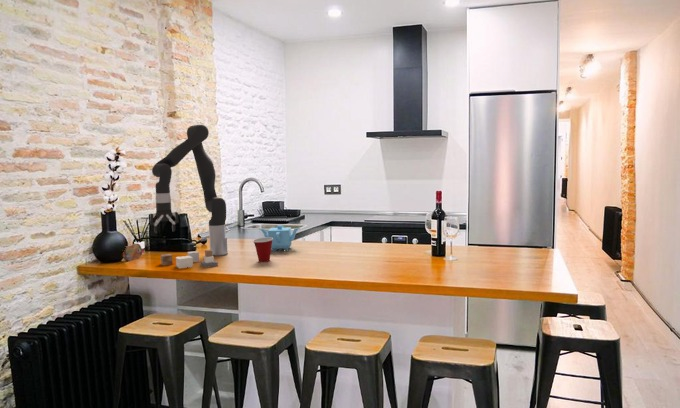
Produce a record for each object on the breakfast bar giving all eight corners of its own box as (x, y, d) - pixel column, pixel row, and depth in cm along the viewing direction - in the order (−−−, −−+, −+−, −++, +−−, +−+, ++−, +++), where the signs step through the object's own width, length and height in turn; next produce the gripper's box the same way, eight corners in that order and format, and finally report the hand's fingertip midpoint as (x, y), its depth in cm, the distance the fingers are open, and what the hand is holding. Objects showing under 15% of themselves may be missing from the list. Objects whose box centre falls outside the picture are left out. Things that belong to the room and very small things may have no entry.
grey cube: (197, 260, 281) (196, 251, 280) (199, 261, 276) (198, 252, 276) (187, 261, 278) (187, 252, 278) (189, 262, 274) (189, 253, 274)
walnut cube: (170, 263, 274) (170, 253, 274) (172, 264, 270) (172, 255, 269) (161, 264, 272) (160, 254, 271) (162, 265, 267) (162, 256, 267)
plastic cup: (250, 260, 274) (249, 238, 273) (267, 258, 280) (266, 236, 279) (259, 263, 265) (258, 241, 264) (277, 260, 271) (276, 238, 270)
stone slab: (126, 262, 280) (125, 247, 279) (121, 262, 281) (120, 246, 280) (142, 256, 295) (141, 242, 294) (137, 256, 295) (136, 242, 295)
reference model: (214, 263, 268) (213, 248, 268) (217, 266, 262) (217, 250, 262) (200, 265, 265) (200, 250, 264) (204, 267, 259) (203, 252, 258)
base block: (190, 265, 268) (189, 255, 268) (193, 267, 262) (192, 257, 261) (176, 266, 265) (175, 257, 264) (179, 268, 258) (178, 259, 258)
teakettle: (277, 253, 293) (276, 228, 292) (258, 250, 306) (257, 225, 305) (302, 249, 306) (301, 224, 305) (283, 245, 320) (282, 222, 318)
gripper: (175, 200, 275) (177, 230, 276) (148, 202, 268) (149, 232, 269) (178, 201, 268) (180, 231, 269) (150, 202, 261) (151, 234, 263)
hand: (164, 232), depth 269 cm, fingers open, 8 cm apart
